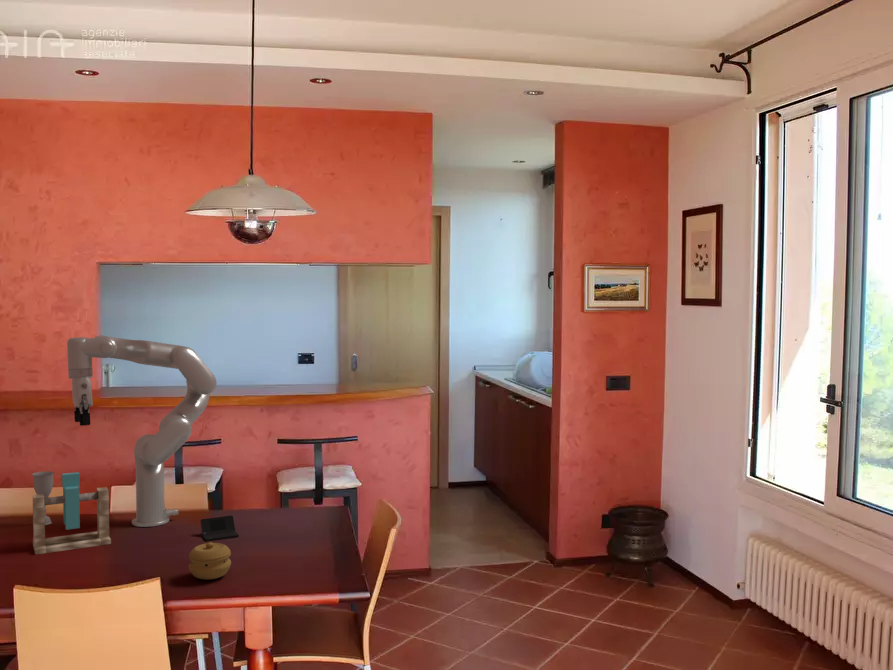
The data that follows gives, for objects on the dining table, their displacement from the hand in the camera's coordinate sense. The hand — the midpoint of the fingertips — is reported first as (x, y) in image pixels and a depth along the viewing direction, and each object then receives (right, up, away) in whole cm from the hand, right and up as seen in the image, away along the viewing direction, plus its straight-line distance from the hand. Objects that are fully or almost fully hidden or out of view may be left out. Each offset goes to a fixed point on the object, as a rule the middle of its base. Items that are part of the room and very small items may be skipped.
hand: (82, 423), depth 272 cm
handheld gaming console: (+48, -38, -3) cm, 61 cm away
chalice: (-19, -37, +12) cm, 43 cm away
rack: (+2, -38, -13) cm, 40 cm away
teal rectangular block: (+2, -32, -13) cm, 34 cm away
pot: (+57, -40, -43) cm, 81 cm away
